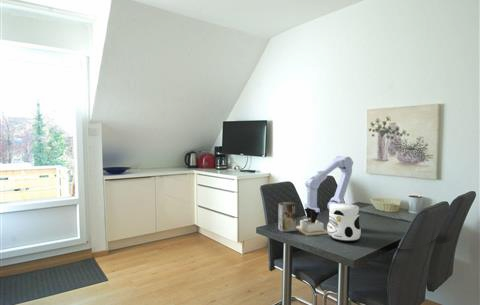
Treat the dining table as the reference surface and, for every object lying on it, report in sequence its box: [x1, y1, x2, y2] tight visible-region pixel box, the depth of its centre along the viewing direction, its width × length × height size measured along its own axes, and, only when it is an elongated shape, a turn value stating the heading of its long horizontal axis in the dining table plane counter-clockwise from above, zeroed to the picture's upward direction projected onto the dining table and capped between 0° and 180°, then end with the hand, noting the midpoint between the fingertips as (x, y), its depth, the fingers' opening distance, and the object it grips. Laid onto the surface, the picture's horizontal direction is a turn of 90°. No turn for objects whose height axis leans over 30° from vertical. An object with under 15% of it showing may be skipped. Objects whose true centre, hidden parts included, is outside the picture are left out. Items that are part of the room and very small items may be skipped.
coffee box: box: [277, 201, 297, 233], centre depth 183 cm, size 9×6×16 cm
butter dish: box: [296, 218, 328, 236], centre depth 183 cm, size 16×17×5 cm
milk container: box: [326, 202, 362, 242], centre depth 168 cm, size 17×17×18 cm
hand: (311, 221), depth 183 cm, fingers closed on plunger, 4 cm apart
